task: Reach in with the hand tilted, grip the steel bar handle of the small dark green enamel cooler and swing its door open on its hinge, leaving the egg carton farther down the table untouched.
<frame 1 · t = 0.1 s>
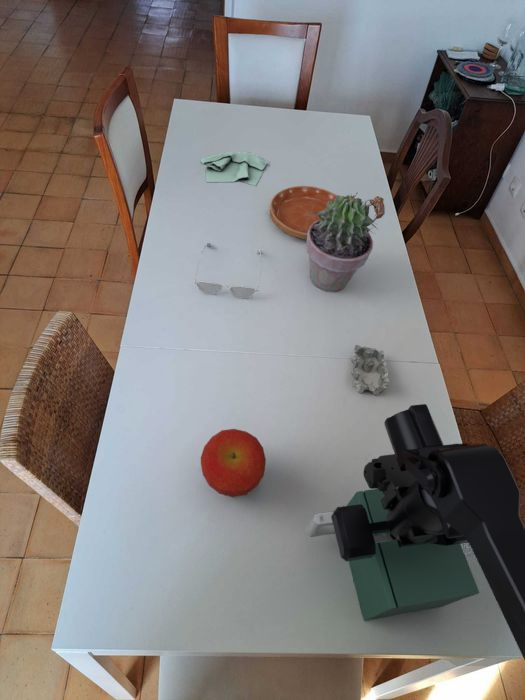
hand: (385, 541, 66), 13 cm above the table, tool pointing down, fingers open, 9 cm apart
saucer: (308, 220, 131), on the table
cooler door: (340, 559, 70), point 6 cm above the table, hinge at 0.0°
potted plant: (324, 279, 117), on the table
apple: (231, 480, 82), on the table
cloth: (232, 169, 143), on the table
eyeglasses: (230, 271, 115), on the table
cooler: (390, 559, 77), on the table
egg carton: (365, 375, 100), on the table
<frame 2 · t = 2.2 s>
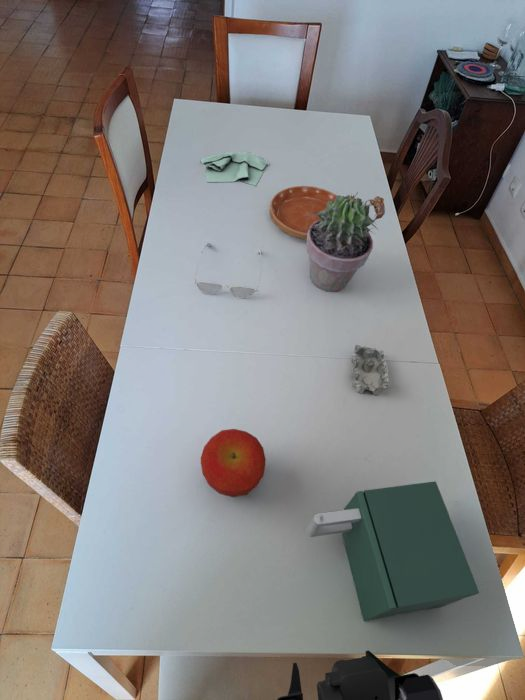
hand: (331, 659, 56), 13 cm above the table, tool tilted 45°, fingers open, 9 cm apart
nothing on the table moved.
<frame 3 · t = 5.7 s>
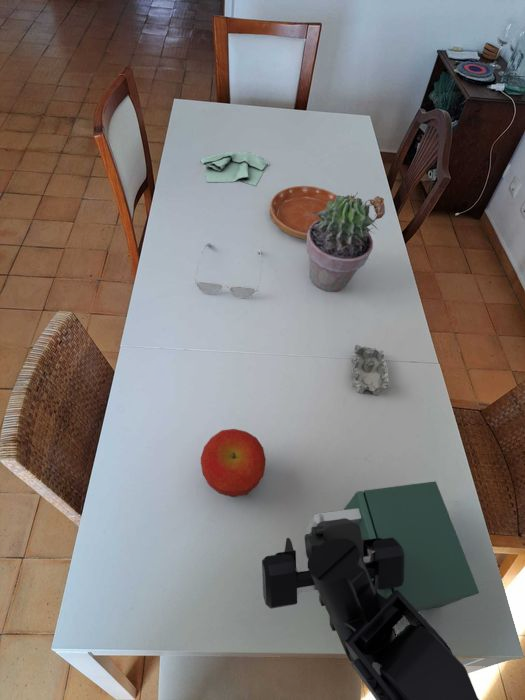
hand: (315, 536, 68), 10 cm above the table, tool tilted 45°, fingers open, 8 cm apart
cooler door: (340, 559, 70), point 7 cm above the table, hinge at 0.0°, touching gripper
everything else where it was.
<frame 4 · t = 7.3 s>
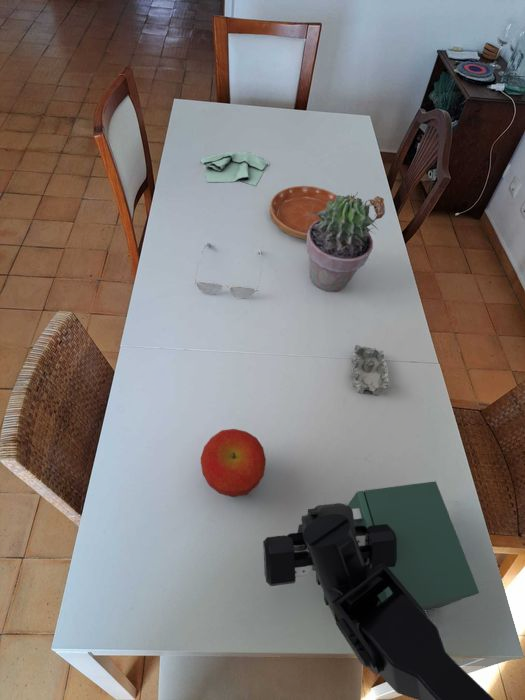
hand: (315, 525, 72), 7 cm above the table, tool tilted 45°, fingers open, 5 cm apart
cooler door: (341, 559, 70), point 6 cm above the table, hinge at -0.3°, touching gripper
everything else where it was.
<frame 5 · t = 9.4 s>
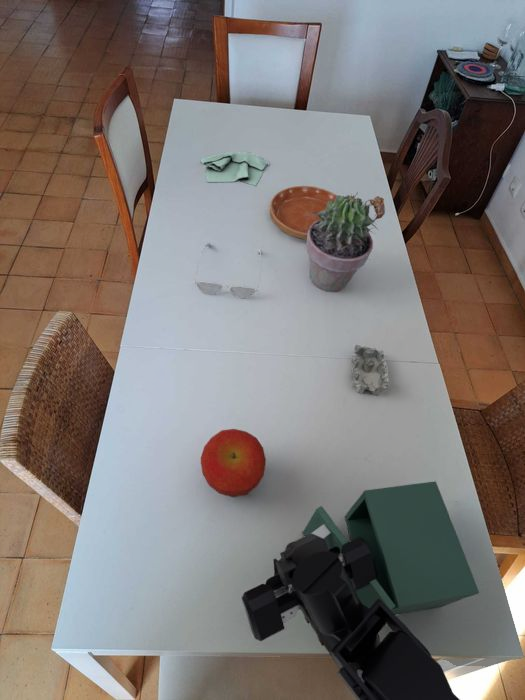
hand: (288, 555, 69), 7 cm above the table, tool tilted 45°, fingers open, 4 cm apart
cooler door: (325, 579, 68), point 6 cm above the table, hinge at 25.7°, touching gripper
everything else where it was.
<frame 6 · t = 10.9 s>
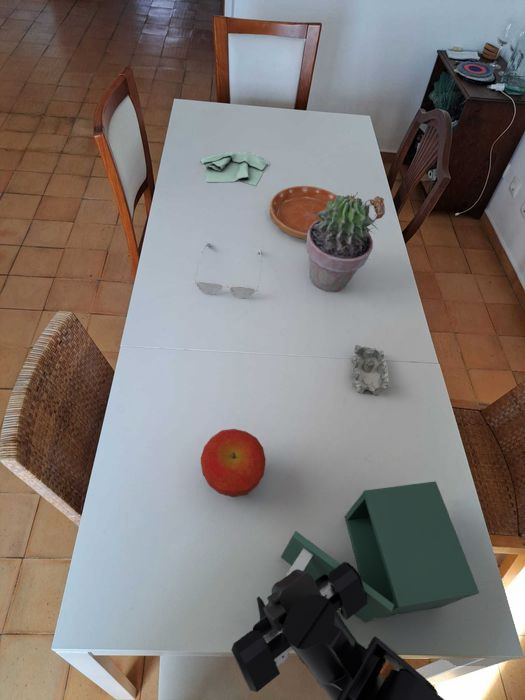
hand: (273, 588, 66), 7 cm above the table, tool tilted 45°, fingers open, 5 cm apart
cooler door: (319, 600, 66), point 7 cm above the table, hinge at 45.5°, touching gripper
everything else where it was.
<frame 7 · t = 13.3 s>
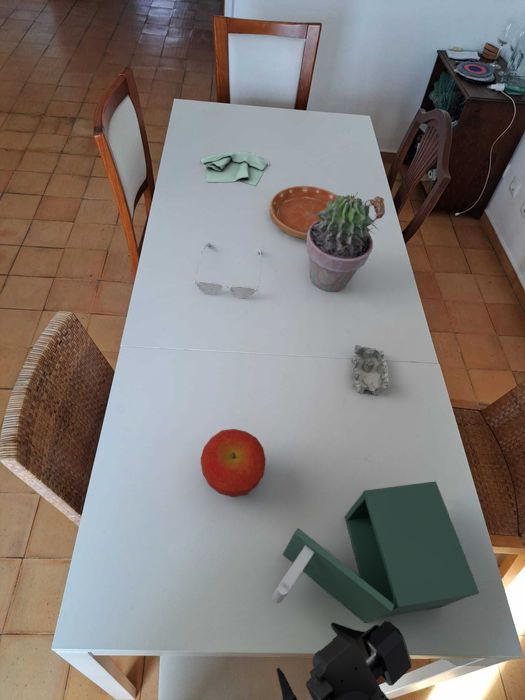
hand: (306, 647, 61), 8 cm above the table, tool tilted 45°, fingers open, 9 cm apart
cooler door: (319, 598, 66), point 7 cm above the table, hinge at 43.6°
everything else where it was.
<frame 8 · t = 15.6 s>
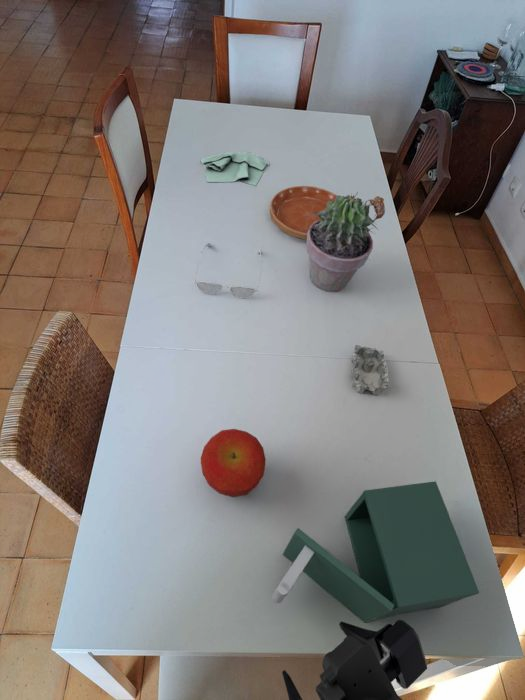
hand: (313, 648, 57), 13 cm above the table, tool tilted 45°, fingers open, 9 cm apart
nothing on the table moved.
at the end: cooler door at +44° (first picture: +0°); egg carton moved 0.2 cm from its start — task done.
